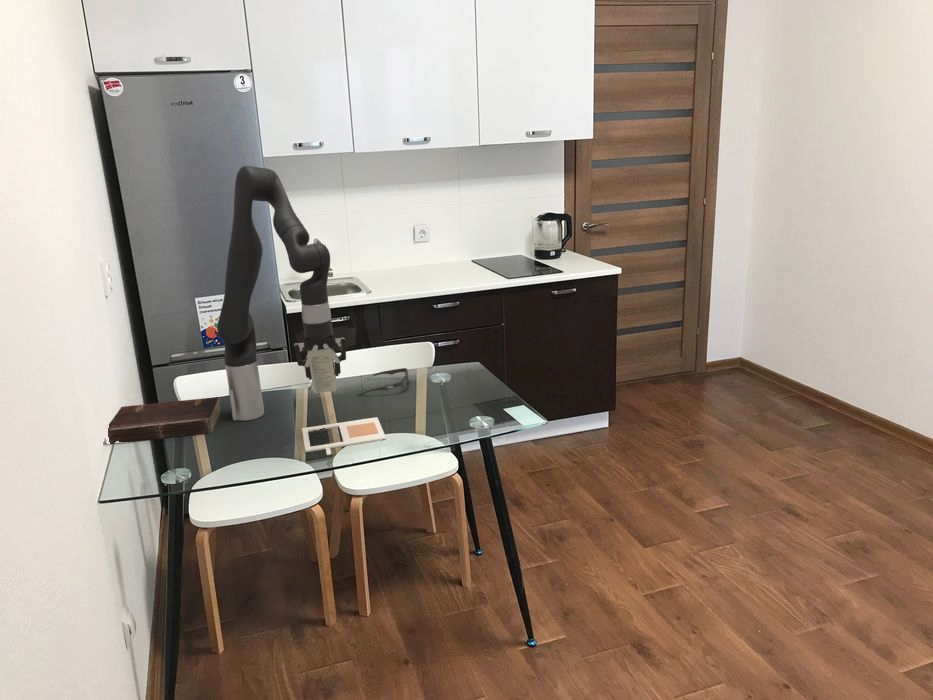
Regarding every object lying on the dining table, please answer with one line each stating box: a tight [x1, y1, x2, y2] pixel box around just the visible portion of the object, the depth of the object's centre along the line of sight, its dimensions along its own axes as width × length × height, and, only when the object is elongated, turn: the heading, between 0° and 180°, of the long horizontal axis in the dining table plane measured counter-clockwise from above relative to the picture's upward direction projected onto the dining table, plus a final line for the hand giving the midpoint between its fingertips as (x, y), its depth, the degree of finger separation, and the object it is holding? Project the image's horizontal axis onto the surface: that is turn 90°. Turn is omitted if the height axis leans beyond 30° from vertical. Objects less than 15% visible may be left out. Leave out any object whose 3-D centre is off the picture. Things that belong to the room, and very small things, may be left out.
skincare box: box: [307, 348, 338, 394], centre depth 204 cm, size 6×4×12 cm
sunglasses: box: [356, 367, 409, 397], centre depth 246 cm, size 16×17×5 cm
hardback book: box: [108, 396, 222, 445], centre depth 223 cm, size 29×19×5 cm, turn 99°
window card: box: [301, 416, 386, 456], centre depth 209 cm, size 22×20×1 cm
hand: (323, 377), depth 204 cm, fingers closed on skincare box, 6 cm apart
